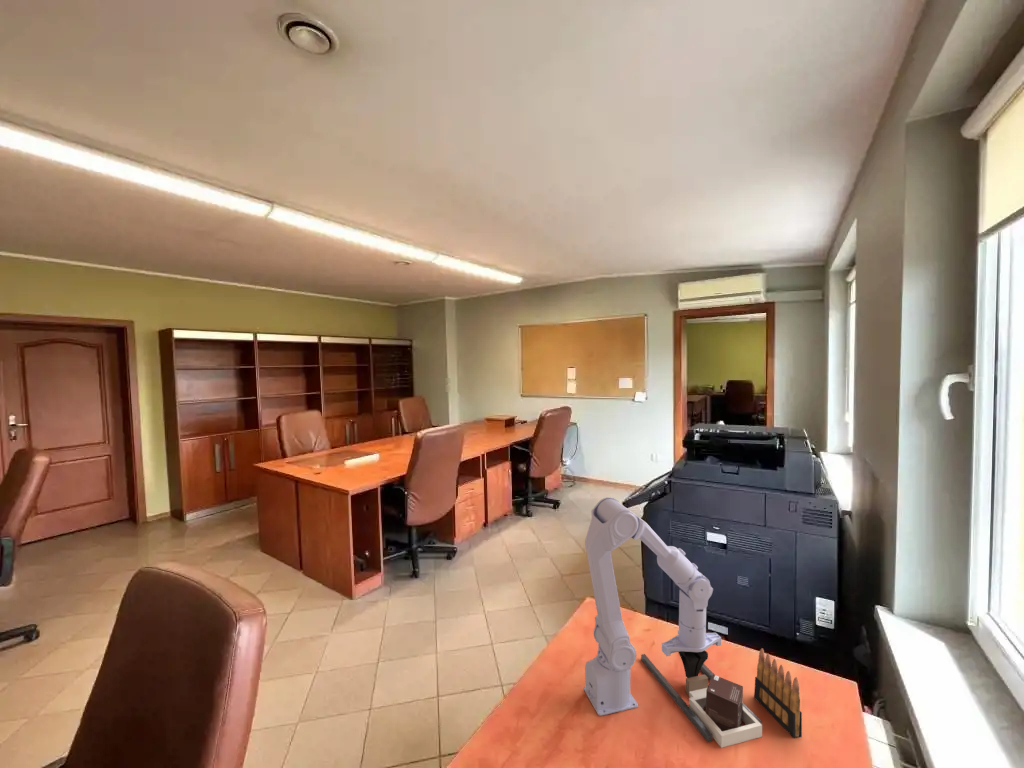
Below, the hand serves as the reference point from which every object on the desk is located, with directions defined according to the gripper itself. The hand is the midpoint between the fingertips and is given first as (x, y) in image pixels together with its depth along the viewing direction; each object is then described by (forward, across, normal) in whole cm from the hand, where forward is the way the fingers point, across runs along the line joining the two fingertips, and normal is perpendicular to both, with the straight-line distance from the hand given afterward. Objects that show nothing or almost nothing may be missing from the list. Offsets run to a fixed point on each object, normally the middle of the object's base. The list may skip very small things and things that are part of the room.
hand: (691, 678), depth 98 cm
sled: (+2, 0, +8) cm, 8 cm away
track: (+2, 0, +2) cm, 2 cm away
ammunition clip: (+2, -12, +12) cm, 17 cm away
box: (+2, 0, +10) cm, 11 cm away
